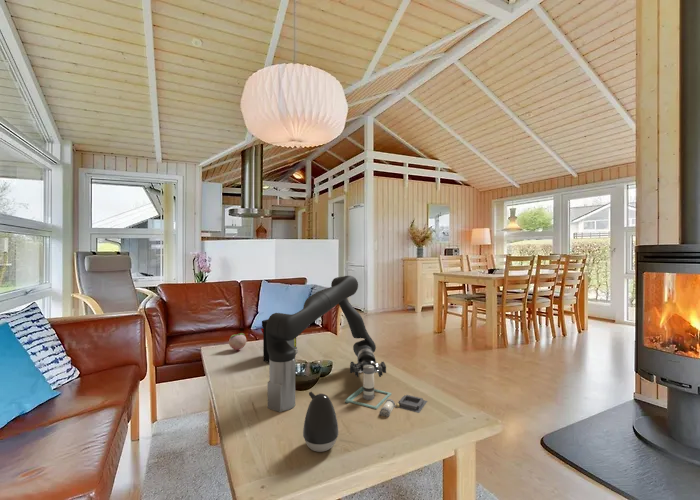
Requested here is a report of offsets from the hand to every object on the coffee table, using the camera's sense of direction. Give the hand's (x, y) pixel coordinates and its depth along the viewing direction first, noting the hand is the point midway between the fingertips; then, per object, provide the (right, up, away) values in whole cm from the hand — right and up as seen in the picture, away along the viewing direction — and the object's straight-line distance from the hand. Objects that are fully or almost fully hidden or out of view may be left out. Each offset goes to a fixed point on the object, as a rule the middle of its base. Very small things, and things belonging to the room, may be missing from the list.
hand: (368, 374), depth 131 cm
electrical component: (-43, -8, +46) cm, 63 cm away
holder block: (+15, -9, -7) cm, 19 cm away
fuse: (+6, -9, -12) cm, 16 cm away
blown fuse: (0, -8, -2) cm, 9 cm away
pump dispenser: (-16, -10, -31) cm, 36 cm away
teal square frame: (0, -9, -2) cm, 9 cm away
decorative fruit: (-68, -8, +57) cm, 89 cm away
